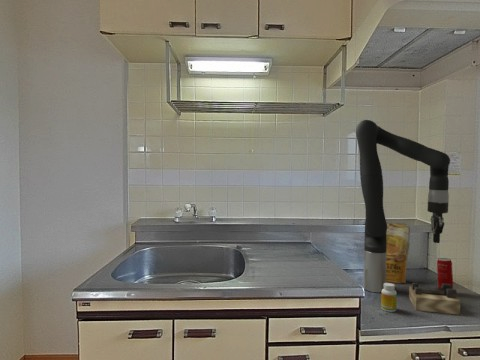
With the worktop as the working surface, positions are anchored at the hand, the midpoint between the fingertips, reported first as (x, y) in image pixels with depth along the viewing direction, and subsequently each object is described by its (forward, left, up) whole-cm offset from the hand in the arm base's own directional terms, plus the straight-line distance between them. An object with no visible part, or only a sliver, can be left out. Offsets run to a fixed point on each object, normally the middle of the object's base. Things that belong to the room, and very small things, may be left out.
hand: (436, 242), depth 151 cm
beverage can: (+6, +8, -24) cm, 26 cm away
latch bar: (-3, -9, -18) cm, 20 cm away
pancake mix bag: (-16, +20, -24) cm, 35 cm away
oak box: (-3, -9, -24) cm, 25 cm away
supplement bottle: (-20, -18, -24) cm, 36 cm away
